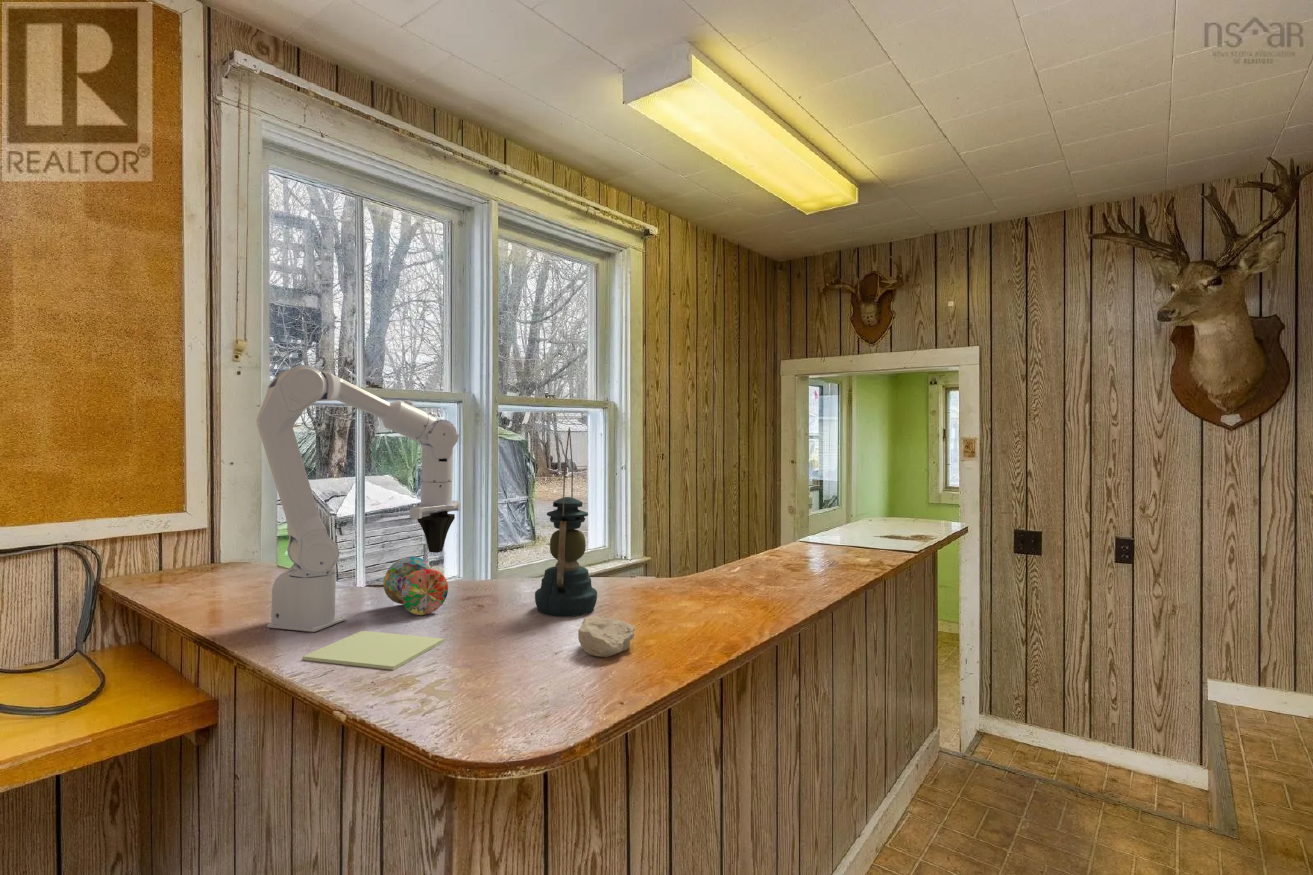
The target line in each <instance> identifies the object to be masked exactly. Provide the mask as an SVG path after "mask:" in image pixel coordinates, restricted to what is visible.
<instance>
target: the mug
mask: <svg viewBox="0 0 1313 875" xmlns="http://www.w3.org/2000/svg"><path fill="white" fill-rule="evenodd" d="M383 589H384V592H385V594H386V596H387V598H389V600H391V601H392V602H393V603H395V604H401V605H403V607H404V608H405V610H406V611H407V612H409V613H410V614H413V615H417V616H426V615H429V614H432V613H434V612H436V611H437V610H438V609H439V608H441V606H442V605H443V604H444V602H445V600H446V599H447V596H448V593H449V584H448V581H447V578H446V577H445V575H444V574H443V573H442V572H440V571H439V570H438V569H437V570H436V569H433V568H431V566H430V564H429V563H428V562H427V561H426V560H425V559H423V558H421V557H419V556H405V557H402V558H400V559H398V560H396V561H395V562H393V564H391V565H390V567H388V569H387V570H386V572H385V575H384V578H383Z"/></svg>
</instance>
